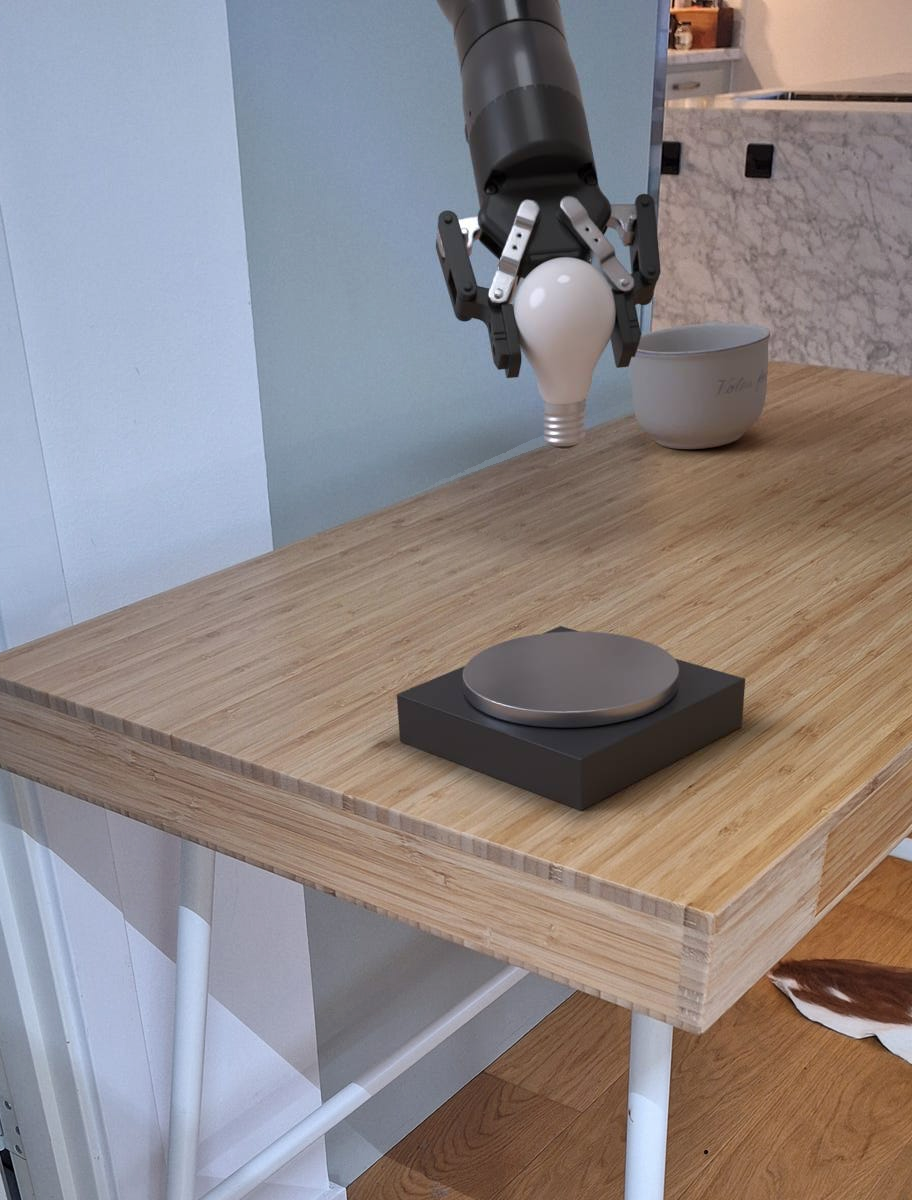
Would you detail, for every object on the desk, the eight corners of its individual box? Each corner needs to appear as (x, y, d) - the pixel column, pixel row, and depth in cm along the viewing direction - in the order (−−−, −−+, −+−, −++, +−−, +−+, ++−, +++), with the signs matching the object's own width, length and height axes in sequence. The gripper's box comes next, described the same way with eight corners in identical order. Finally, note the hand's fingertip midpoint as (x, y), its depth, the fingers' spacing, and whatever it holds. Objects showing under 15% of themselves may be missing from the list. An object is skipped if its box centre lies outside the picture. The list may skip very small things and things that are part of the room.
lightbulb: (504, 460, 93) (497, 267, 87) (530, 435, 98) (526, 250, 92) (601, 462, 91) (602, 265, 85) (623, 437, 96) (626, 248, 90)
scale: (560, 670, 80) (560, 625, 78) (742, 726, 72) (746, 678, 71) (399, 741, 73) (395, 693, 72) (581, 811, 66) (581, 759, 64)
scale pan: (561, 631, 77) (561, 616, 77) (722, 678, 71) (723, 662, 70) (419, 691, 72) (418, 675, 71) (580, 747, 65) (580, 730, 65)
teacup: (735, 462, 112) (743, 349, 108) (605, 452, 117) (606, 343, 112) (792, 421, 122) (801, 315, 117) (670, 412, 127) (674, 310, 122)
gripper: (417, 89, 89) (461, 336, 86) (649, 70, 90) (698, 313, 87) (411, 182, 96) (450, 413, 93) (625, 164, 97) (670, 391, 95)
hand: (570, 364), depth 90 cm, fingers closed on lightbulb, 6 cm apart
